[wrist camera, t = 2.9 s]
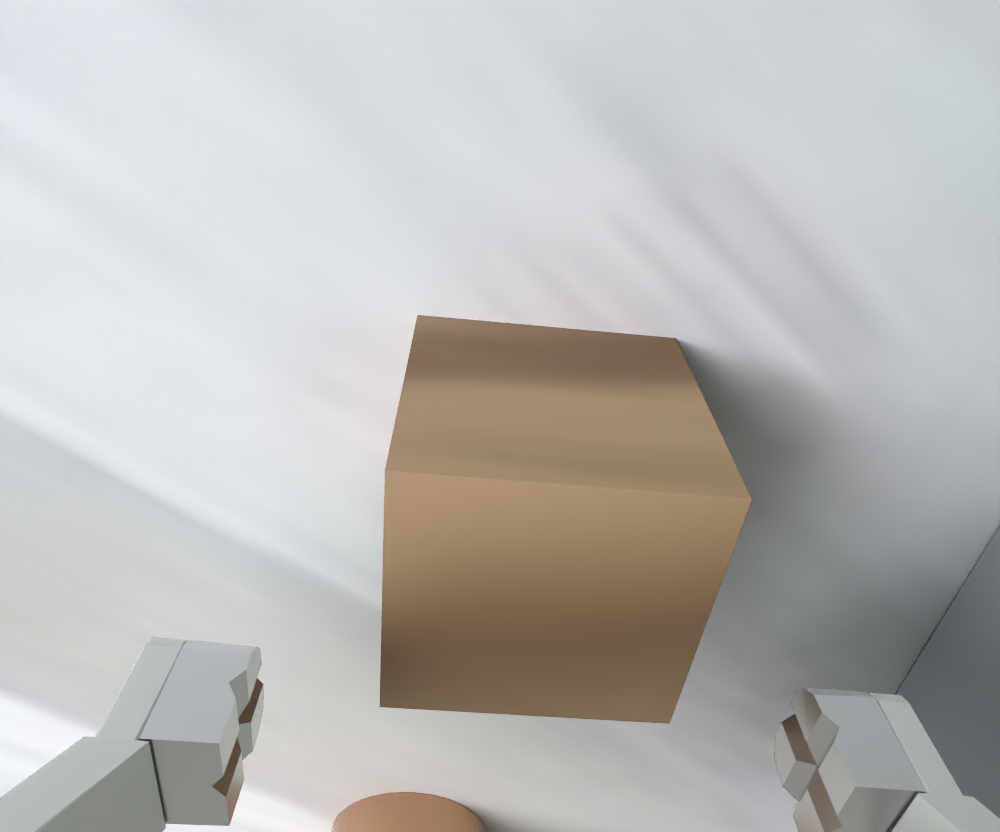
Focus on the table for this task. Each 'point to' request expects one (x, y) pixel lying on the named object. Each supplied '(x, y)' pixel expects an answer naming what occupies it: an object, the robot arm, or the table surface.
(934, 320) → the table surface
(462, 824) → the terracotta cylinder
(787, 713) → the table surface
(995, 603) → the tote
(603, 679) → the walnut cube
